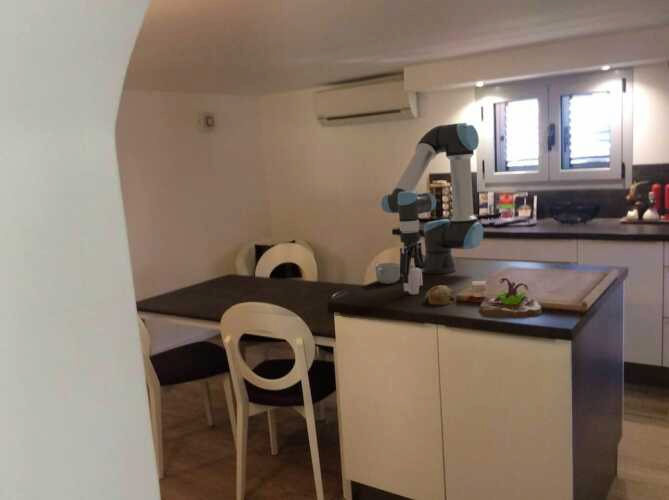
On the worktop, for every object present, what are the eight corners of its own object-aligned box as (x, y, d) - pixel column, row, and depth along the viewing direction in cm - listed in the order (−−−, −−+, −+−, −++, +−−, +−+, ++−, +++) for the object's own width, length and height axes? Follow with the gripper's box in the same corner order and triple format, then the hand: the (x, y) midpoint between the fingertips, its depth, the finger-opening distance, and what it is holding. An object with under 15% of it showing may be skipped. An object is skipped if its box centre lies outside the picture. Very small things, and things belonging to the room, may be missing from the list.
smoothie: (421, 294, 232) (419, 259, 230) (405, 295, 234) (402, 260, 232) (422, 291, 239) (420, 256, 236) (406, 291, 240) (404, 257, 238)
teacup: (387, 278, 267) (386, 261, 266) (406, 281, 260) (405, 262, 258) (366, 285, 258) (364, 267, 257) (385, 287, 250) (384, 268, 249)
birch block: (473, 294, 226) (472, 281, 226) (487, 294, 225) (486, 281, 224) (472, 297, 222) (471, 284, 221) (486, 297, 220) (485, 284, 219)
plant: (482, 303, 214) (481, 272, 212) (540, 302, 208) (539, 270, 206) (478, 319, 195) (476, 285, 193) (542, 318, 189) (541, 284, 187)
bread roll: (443, 315, 214) (451, 296, 211) (418, 302, 219) (426, 283, 216) (453, 308, 222) (461, 290, 220) (429, 295, 227) (436, 277, 224)
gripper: (413, 227, 243) (417, 281, 247) (387, 235, 226) (391, 294, 229) (430, 227, 239) (434, 282, 243) (405, 235, 221) (409, 295, 225)
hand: (413, 288), depth 236 cm, fingers open, 9 cm apart
